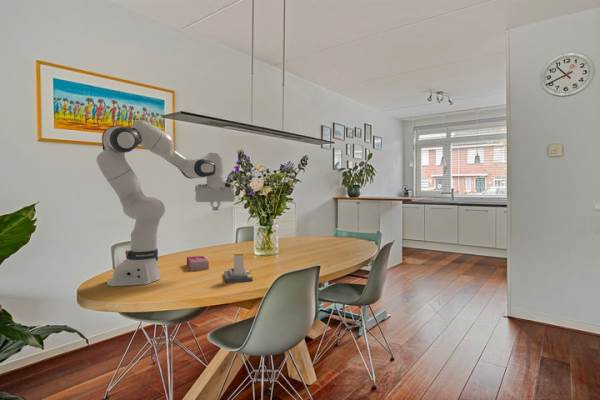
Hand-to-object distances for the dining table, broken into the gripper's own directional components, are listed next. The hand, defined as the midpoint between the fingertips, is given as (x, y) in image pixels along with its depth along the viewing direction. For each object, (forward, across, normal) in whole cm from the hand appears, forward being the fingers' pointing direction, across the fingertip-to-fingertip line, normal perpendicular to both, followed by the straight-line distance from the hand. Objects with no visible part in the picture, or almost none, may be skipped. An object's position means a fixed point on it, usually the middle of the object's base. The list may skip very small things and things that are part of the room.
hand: (215, 210), depth 186 cm
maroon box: (+32, -8, +10) cm, 34 cm away
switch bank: (+31, +6, -22) cm, 39 cm away
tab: (+29, +5, -26) cm, 39 cm away
